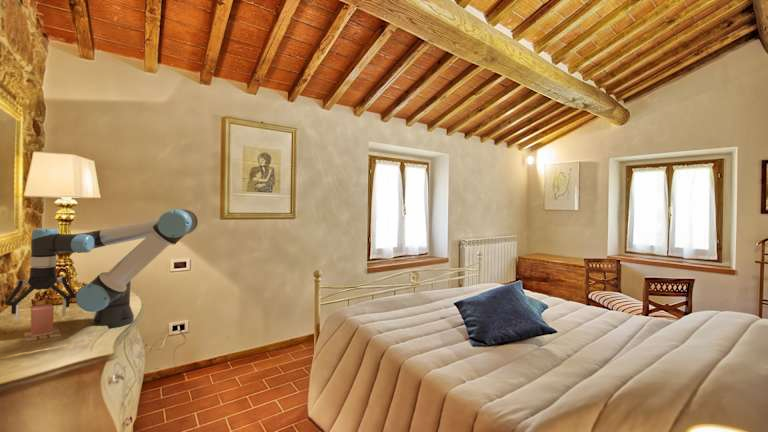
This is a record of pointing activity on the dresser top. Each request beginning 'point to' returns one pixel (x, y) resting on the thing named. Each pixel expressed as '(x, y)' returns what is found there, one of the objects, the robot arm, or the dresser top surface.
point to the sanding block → (42, 320)
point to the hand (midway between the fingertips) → (41, 318)
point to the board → (41, 337)
